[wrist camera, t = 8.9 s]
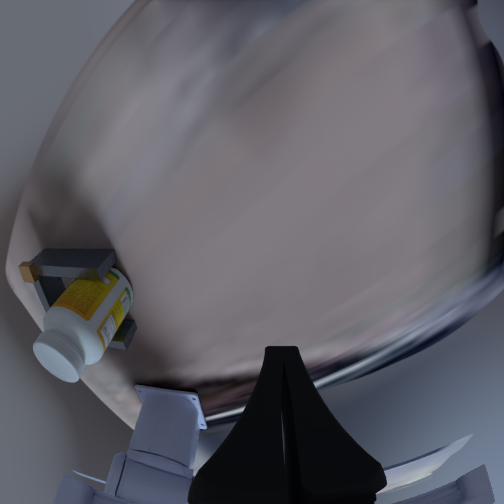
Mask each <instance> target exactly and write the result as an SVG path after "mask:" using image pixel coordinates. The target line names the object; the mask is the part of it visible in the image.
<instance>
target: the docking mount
mask: <svg viewBox="0 0 504 504" xmlns="http://www.w3.org/2000/svg"><path fill="white" fill-rule="evenodd" d="M116 261H117V258H116V254H115V250H107V249H44V250H42V251H41V252H40V253H39V254H38V255H37V256H35V257H34V258H33V259H32V260H31V261H30V262H22V263H21V264H20V265H19V266H18V267H19V270H20V272H21V275H22V277H23V280H24V282H30V283H33V284H34V286H35V289H36V291H37V293H38V296H39V298H40V300H41V303H42V305H43V307H44V309H45V311H46V313H47V311H48V310H49V309H50V308H51V306H52V305H53V304H54V303H55V302H56V301H57V300H58V298H59V297H60V296H61V295H62V294H63V293H64V291H65V288H64V285H63V283H62V280H61V277H65V278H77V279H91V280H101V279H102V278H103V277H104V276H105V274H106V273H107V272H108V271H109V269H110V268H111V267H112V266H113V265H114V263H115V262H116ZM136 329H137V327H136V324H135V321H134V320H126V319H123V321H122V322H121V324H120V326H119V327H118V329H117V331H116V333H115V334H114V336H113V338H112V340H111V341H110V343H109V345H108V347H110V348H116V349H122V350H127V348H128V346H129V344H130V341H131V339H132V337H133V335H134V333H135V331H136Z"/></svg>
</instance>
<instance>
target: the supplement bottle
mask: <svg viewBox="0 0 504 504" xmlns="http://www.w3.org/2000/svg"><path fill="white" fill-rule="evenodd" d="M132 302H133V292H132V288H131V286H130V283H129V282H128V280H127V279H126V277H125V276H124V275H123V274H122V273H121V272H120V271H118V270H117V269H115V268H113V267H111V268H110V269H109V271H108V272H107V273H106V274H105V276H104V277H103V278H102V279H101V280H91V279H77V278H76V279H75V280H74V281H73V283H72V284H71V285H70V286H69V287H68V288H67V289H66V290H65V291H64V293H63V294H62V295H61V296H60V297H59V298H58V300H57V301H56V302H55V303H54V304H53V305H52V306H51V308H50V309H49V310H48V311H47V313H46V315H45V317H44V330H45V331H44V332H42V333H41V334H40V335H39V337H38V338H37V340H36V341H35V343H34V344H33V351H34V354H35V356H36V357H37V359H38V360H39V362H40V363H41V364H42V365H43V366H44V367H45V368H46V369H47V370H48V371H49V372H50V373H52V374H53V375H55V376H56V377H58V378H60V379H62V380H64V381H67V382H76V381H77V380H78V379H79V377H80V376H81V374H82V372H83V371H84V369H85V365H91V364H94V363H96V362H98V361H99V360H100V359H101V357H102V356H103V354H104V352H105V350H106V348H107V347H108V345H109V343H110V341H111V340H112V338H113V336H114V334H115V333H116V331H117V329H118V327H119V326H120V324H121V322H122V321H123V319H124V317H125V316H126V314H127V313H128V311H129V309H130V307H131V305H132Z"/></svg>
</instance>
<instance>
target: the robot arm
mask: <svg viewBox="0 0 504 504" xmlns="http://www.w3.org/2000/svg"><path fill="white" fill-rule="evenodd" d="M135 389H136V391H137V393H138V395H139V397H140V399H141V400H142V402H143V404H142V407H141V410H140V414H139V417H138V420H137V423H136V426H135V429H134V433H133V436H132V439H131V442H130V446H129V449H128V452H127V453H126V455H125V454H124V453H122V452H120V453H119V454H116V455H115V456H114V459H113V462H112V465H111V468H110V472H109V475H108V478H107V482H106V485H105V490H104V493H103V492H101V491H98V490H96V489H94V488H93V487H91V486H89V485H88V484H86V483H83V482H81V481H79V480H77V479H74V478H72V477H70V476H68V475H66V474H62V477H61V480H60V483H59V486H58V489H57V492H56V495H55V498H54V501H53V504H374V501H376V493H377V492H378V491H380V490H382V489H383V488H384V487H385V486H386V485H387V480H386V476H385V473H384V470H383V468H382V466H381V464H380V463H379V462H378V461H376V460H375V459H374V458H373V457H372V456H370V455H369V454H368V453H367V452H366V451H365V450H364V449H363V448H362V447H361V446H360V445H358V444H357V443H356V441H355V440H354V439H353V438H352V437H351V436H350V435H349V434H348V433H347V432H346V431H345V429H344V428H343V427H342V426H341V425H340V423H339V422H338V421H337V420H336V418H335V417H334V416H333V414H332V413H331V412H330V410H329V409H328V407H327V406H326V404H325V403H324V401H323V399H322V398H321V396H320V395H319V393H318V391H317V389H316V388H315V386H314V384H313V382H312V380H311V378H310V376H309V374H308V372H307V370H306V368H305V365H304V363H303V360H302V358H301V355H300V352H299V349H298V347H297V346H267V347H266V348H265V356H264V361H263V365H262V368H261V372H260V375H259V377H258V380H257V383H256V386H255V388H254V390H253V392H252V395H251V397H250V399H249V401H248V403H247V405H246V407H245V409H244V411H243V413H242V414H241V416H240V418H239V420H238V421H237V423H236V424H235V426H234V427H233V429H232V430H231V432H230V433H229V435H228V436H227V438H226V439H225V440H224V442H223V443H222V444H221V445H220V447H219V448H218V449H217V451H216V452H215V453H214V454H213V455H212V456H211V458H210V459H209V460H208V461H207V462H206V463H205V464H204V465H203V466H202V467H201V468H200V469H199V470H198V472H197V474H196V476H193V471H194V470H193V469H190V468H191V467H192V465H193V463H194V460H195V454H196V448H197V442H198V436H199V430H200V429H207V424H206V421H205V418H204V414H203V411H202V408H201V404H200V401H199V397H198V394H197V393H194V392H186V391H177V390H169V389H162V388H155V387H149V386H143V385H135ZM281 413H282V422H283V431H284V442H285V467H284V454H283V439H282V422H281ZM494 502H495V499H494V495H493V491H492V487H491V484H490V480H489V477H488V473H487V470H486V467H485V465H482V466H480V467H478V468H476V469H474V470H472V471H470V472H468V473H466V474H465V475H463V476H461V477H460V478H458V479H457V480H456V481H453V482H451V483H449V484H447V485H444V486H442V487H439V488H437V489H434V490H432V491H429V492H427V493H424V494H421V495H418V496H415V497H412V498H409V499H406V500H403V501H400V502H396V503H393V504H493V503H494Z"/></svg>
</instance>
